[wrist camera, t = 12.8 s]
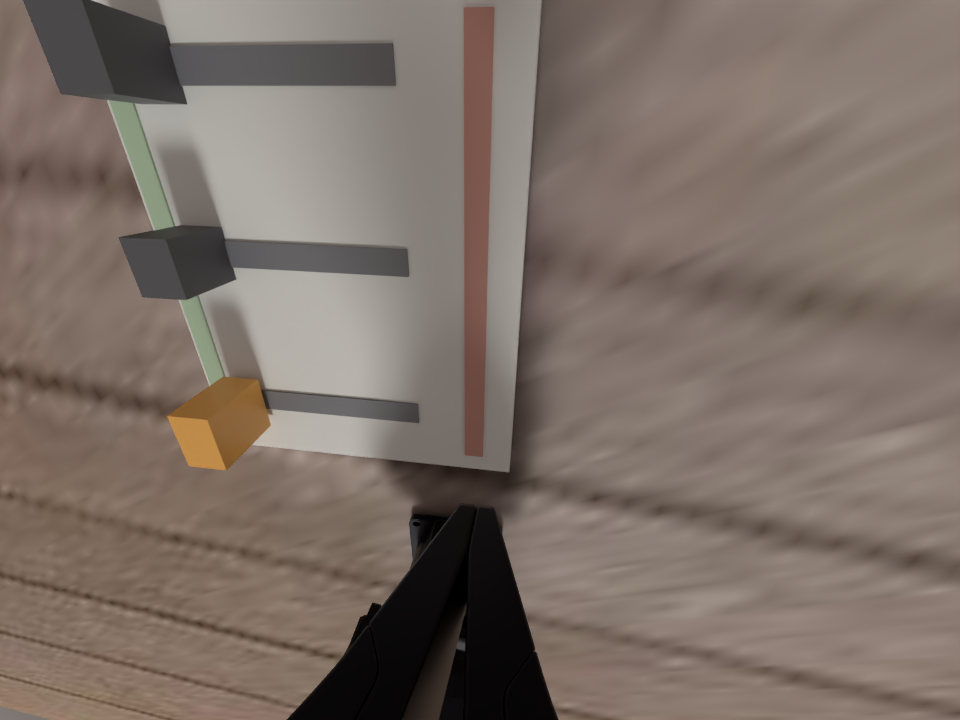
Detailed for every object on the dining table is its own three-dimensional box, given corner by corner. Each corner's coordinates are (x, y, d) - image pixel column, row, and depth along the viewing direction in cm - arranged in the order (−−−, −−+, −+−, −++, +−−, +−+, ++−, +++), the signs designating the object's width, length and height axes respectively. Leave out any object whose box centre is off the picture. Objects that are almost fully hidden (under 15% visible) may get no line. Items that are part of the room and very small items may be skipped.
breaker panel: (511, 448, 24) (505, 515, 19) (251, 422, 26) (191, 478, 21) (542, -11, 14) (544, -88, 10) (117, 0, 16) (-46, -60, 11)
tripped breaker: (271, 425, 22) (226, 470, 19) (238, 421, 22) (188, 466, 19) (257, 379, 21) (207, 420, 18) (223, 376, 21) (167, 416, 18)
